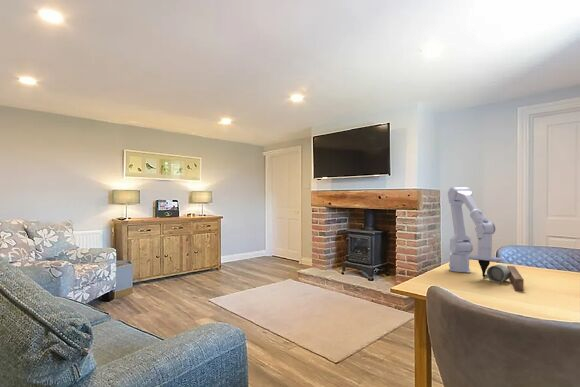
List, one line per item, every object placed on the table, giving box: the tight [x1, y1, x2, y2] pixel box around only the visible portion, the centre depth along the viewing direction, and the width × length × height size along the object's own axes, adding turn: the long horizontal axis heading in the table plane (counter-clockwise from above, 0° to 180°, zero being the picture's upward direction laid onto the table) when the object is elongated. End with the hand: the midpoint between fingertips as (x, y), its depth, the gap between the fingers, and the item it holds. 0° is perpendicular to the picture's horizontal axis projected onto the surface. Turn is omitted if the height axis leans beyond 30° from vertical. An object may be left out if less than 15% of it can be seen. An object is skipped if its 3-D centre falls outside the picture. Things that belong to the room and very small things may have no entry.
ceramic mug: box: [482, 264, 510, 284], centre depth 152 cm, size 11×8×8 cm
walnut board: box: [506, 265, 525, 292], centre depth 147 cm, size 3×26×5 cm, turn 152°
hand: (484, 276), depth 153 cm, fingers closed, pressing on ceramic mug
